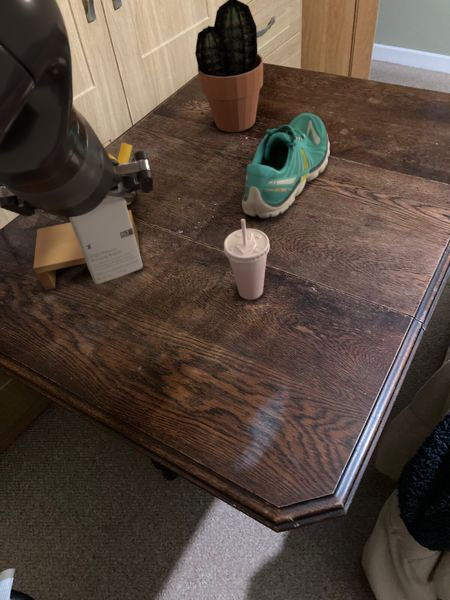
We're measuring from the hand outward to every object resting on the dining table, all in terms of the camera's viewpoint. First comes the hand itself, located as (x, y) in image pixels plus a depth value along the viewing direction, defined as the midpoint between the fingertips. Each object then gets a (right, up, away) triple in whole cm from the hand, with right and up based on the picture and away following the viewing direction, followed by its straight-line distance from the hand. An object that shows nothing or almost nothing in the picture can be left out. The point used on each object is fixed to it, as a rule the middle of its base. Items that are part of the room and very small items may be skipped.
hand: (95, 199), depth 54 cm
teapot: (-7, +7, +41) cm, 42 cm away
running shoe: (+27, +12, +40) cm, 50 cm away
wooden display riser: (-8, -4, +30) cm, 32 cm away
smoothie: (+18, -10, +22) cm, 30 cm away
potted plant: (+17, +29, +57) cm, 66 cm away
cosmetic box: (+1, -7, +5) cm, 9 cm away
